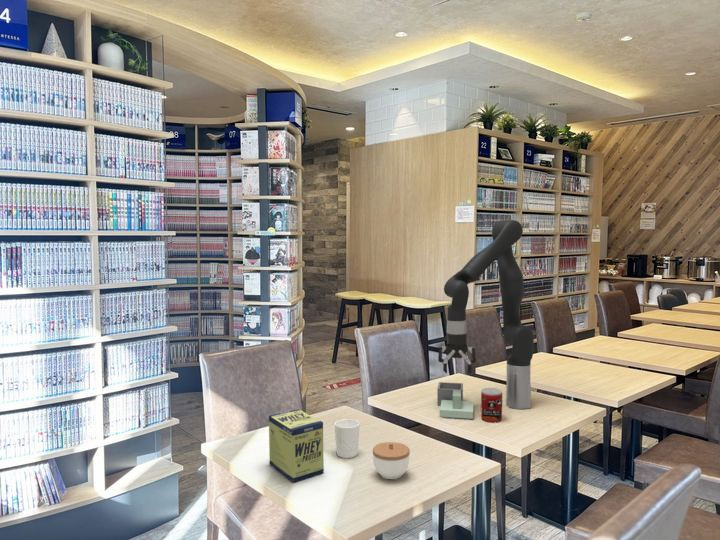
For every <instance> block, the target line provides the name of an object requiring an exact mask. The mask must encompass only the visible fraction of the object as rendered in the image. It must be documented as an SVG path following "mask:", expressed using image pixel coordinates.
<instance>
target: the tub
mask: <svg viewBox="0 0 720 540" xmlns="http://www.w3.org/2000/svg"><path fill="white" fill-rule="evenodd" d="M453 390H461V401H464V383H463V382H444V381H443V382H442V381H440V382H438V384H437V392H436V393H437V395H436V396H437V398H436V399H437V402H436V403H437V404H436V405H437V407H440V406H441V401H442V400H452V401H453Z"/></svg>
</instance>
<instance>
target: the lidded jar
mask: <svg viewBox="0 0 720 540" xmlns="http://www.w3.org/2000/svg"><path fill="white" fill-rule="evenodd" d="M372 459H373V465H374V468H375V470H376V471H377V472H376V473H378V474H379V475H380V476H382V477H381V478H382V479H385V478H386V479H385V480H388V479H395V480H399V479H400V478H402V476H403V474H405V473H406V472H407V469H408V467H409V463H410V448H409V446H407V445H406V444H404V443H401V442H395V441H391V442H390V441H388V442H387V441H386V442H380V443H377V444H376V445H374V446H373V447H372ZM398 478H399V479H398Z"/></svg>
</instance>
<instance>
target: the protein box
mask: <svg viewBox="0 0 720 540" xmlns="http://www.w3.org/2000/svg"><path fill="white" fill-rule="evenodd" d="M268 438H269V439H268V446H269V447H268V448H269V449H268V450H269V453H268V454H269V465H270V466H271V467H272V468H273V469H275V470H276V471H278V473H279V474H281V475H282V476H283V477H285V478H287V479H288V480H289V481H290V482H291V483H292V484H294V483H297V482H301V481H303V480H306V478H307V479H309V478H312V477H316V475H317V476H320V475H323V474H324V469H325V466H324V461H325V459H324V422H323V421H322V420H319V418H316V417H314V416H312V415H310V414H308V413H307V412H304V411H303V410H301V409H299V408H297V409H293V410H287V411H285V412H283V411H282V412H279V413H275V414H274V413H273V414H270V415H268ZM322 473H323V474H322ZM319 474H320V475H319Z"/></svg>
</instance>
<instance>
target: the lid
mask: <svg viewBox="0 0 720 540" xmlns="http://www.w3.org/2000/svg"><path fill="white" fill-rule="evenodd" d="M439 407H440V408H439V418H440V417H453V418H469V419H472V420H473V419H474V401H471V400H470V401H469V400H466V401H465V400H463V401H461V390H453V401H452V400H442V401H441V406H439Z"/></svg>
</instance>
